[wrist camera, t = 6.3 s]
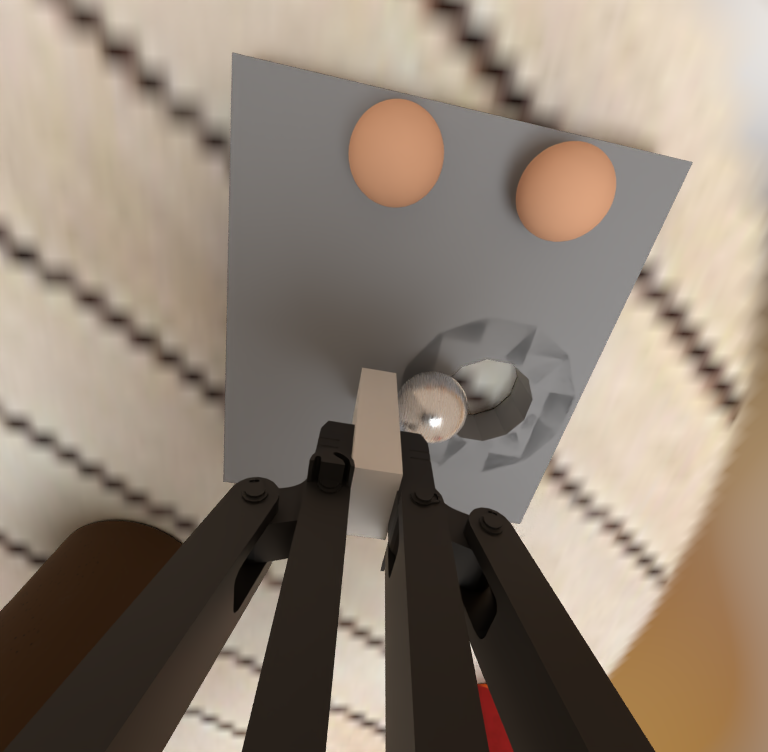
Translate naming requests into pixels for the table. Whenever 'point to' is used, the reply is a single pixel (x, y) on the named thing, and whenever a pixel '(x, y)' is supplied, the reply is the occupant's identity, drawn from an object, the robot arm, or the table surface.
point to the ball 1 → (396, 153)
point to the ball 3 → (565, 191)
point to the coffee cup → (493, 722)
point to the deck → (412, 282)
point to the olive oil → (71, 611)
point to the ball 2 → (432, 406)
